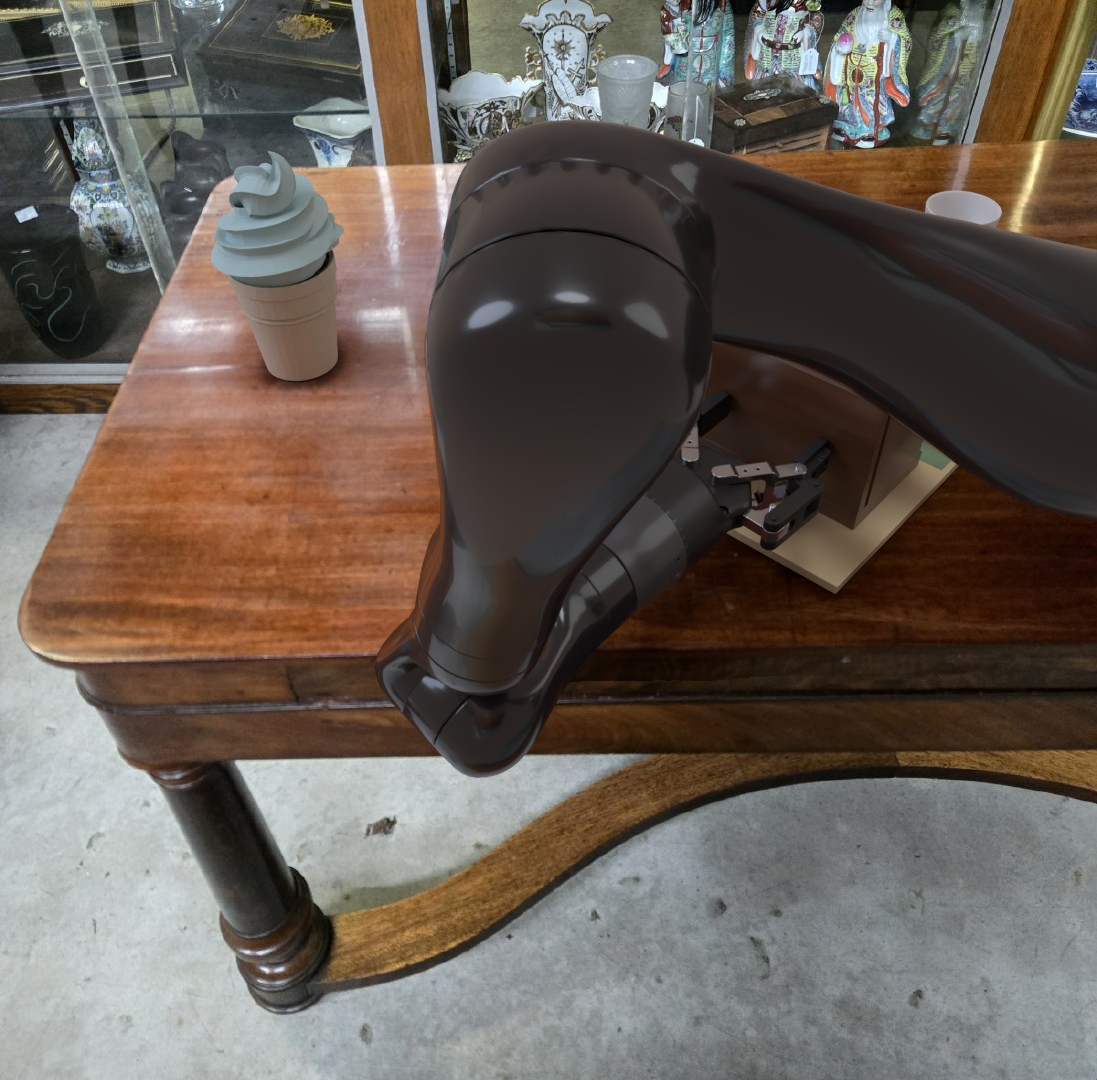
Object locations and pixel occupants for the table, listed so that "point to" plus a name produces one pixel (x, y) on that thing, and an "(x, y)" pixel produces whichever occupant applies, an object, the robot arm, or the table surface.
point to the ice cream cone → (282, 267)
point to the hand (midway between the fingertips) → (773, 424)
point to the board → (842, 551)
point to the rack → (810, 429)
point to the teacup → (965, 207)
